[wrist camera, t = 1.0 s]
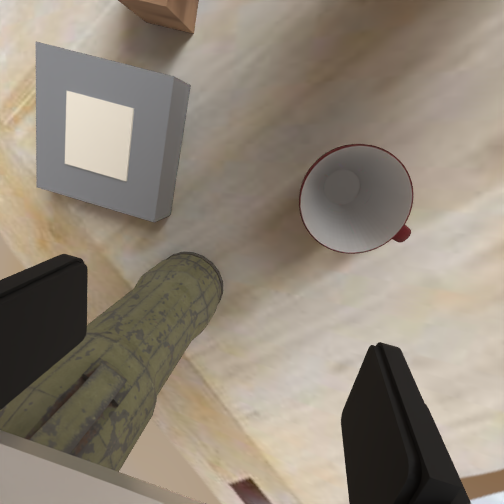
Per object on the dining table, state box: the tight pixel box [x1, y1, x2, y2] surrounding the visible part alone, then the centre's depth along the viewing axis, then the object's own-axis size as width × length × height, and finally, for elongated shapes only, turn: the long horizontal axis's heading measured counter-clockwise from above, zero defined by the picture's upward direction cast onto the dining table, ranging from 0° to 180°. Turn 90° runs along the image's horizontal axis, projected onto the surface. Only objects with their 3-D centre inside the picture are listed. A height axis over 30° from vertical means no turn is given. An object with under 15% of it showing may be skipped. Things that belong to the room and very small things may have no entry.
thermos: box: [0, 252, 223, 472], centre depth 22 cm, size 9×12×35 cm
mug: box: [299, 144, 413, 254], centre depth 27 cm, size 10×8×10 cm
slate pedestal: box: [36, 42, 190, 222], centre depth 32 cm, size 14×14×4 cm
